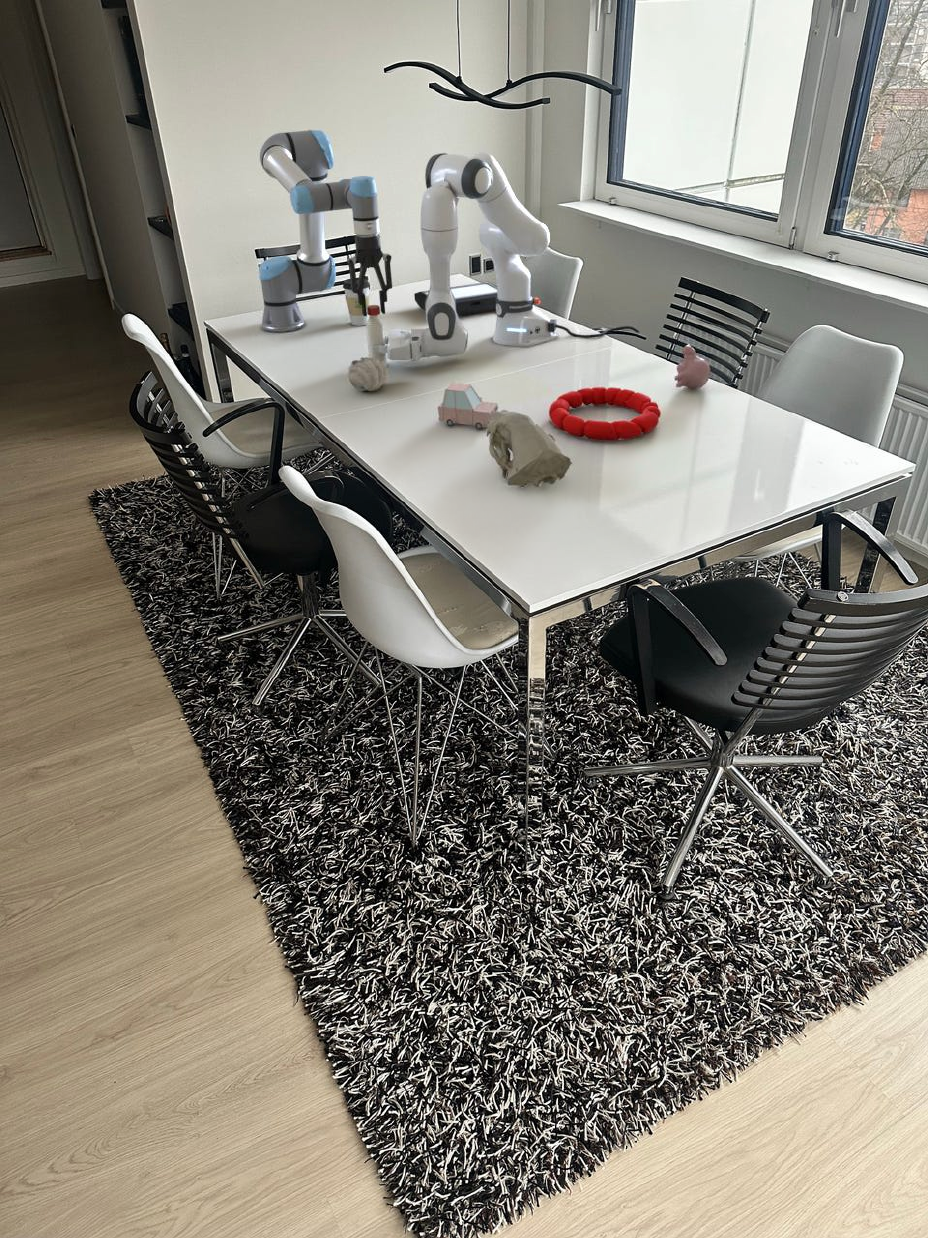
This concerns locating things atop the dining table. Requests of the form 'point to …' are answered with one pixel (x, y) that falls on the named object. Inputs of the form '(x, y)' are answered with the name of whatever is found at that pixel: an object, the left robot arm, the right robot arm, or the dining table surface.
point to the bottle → (375, 337)
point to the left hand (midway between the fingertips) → (373, 313)
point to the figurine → (692, 370)
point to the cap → (373, 310)
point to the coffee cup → (356, 302)
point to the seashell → (367, 374)
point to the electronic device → (468, 298)
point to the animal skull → (525, 450)
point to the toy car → (465, 406)
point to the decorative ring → (604, 428)
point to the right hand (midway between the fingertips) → (373, 344)
